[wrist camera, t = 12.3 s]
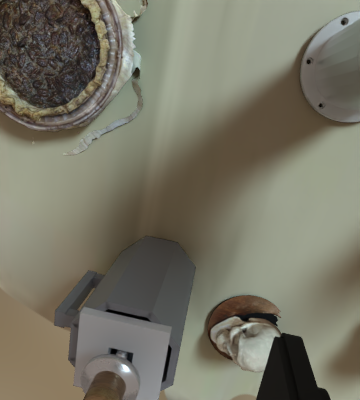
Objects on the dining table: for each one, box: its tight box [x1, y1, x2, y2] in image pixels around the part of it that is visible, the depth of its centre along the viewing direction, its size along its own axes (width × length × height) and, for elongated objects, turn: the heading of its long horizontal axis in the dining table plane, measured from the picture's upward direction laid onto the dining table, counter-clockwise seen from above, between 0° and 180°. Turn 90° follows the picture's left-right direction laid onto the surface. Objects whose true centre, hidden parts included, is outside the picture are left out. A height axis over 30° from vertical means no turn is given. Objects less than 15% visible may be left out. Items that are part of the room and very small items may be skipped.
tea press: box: [54, 236, 196, 400], centre depth 44 cm, size 15×12×19 cm
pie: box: [0, 0, 148, 155], centre depth 45 cm, size 28×27×5 cm
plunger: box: [81, 315, 143, 400], centre depth 39 cm, size 8×8×23 cm
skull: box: [208, 295, 281, 372], centre depth 52 cm, size 12×10×10 cm
